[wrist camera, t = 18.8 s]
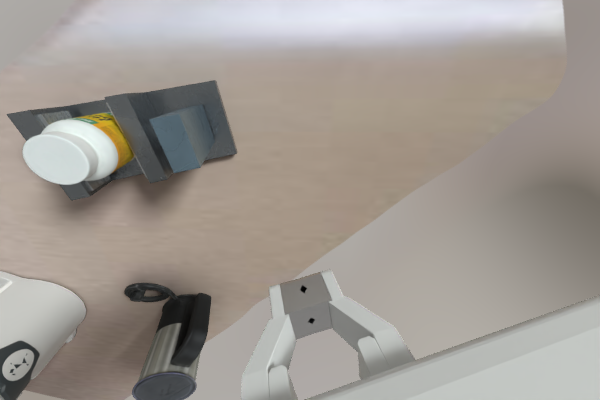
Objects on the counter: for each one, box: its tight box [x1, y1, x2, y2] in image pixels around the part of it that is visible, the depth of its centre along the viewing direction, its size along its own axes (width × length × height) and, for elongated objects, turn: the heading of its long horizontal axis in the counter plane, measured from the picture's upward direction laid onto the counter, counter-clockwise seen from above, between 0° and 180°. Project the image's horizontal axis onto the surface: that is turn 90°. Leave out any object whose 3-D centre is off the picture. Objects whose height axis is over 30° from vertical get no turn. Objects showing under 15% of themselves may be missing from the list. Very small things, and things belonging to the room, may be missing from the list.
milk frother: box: [125, 283, 211, 400], centre depth 39 cm, size 14×16×15 cm
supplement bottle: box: [23, 113, 135, 185], centre depth 25 cm, size 6×6×11 cm
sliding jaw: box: [105, 92, 215, 183], centre depth 25 cm, size 9×10×12 cm
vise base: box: [7, 80, 237, 200], centre depth 29 cm, size 20×10×7 cm, turn 99°
